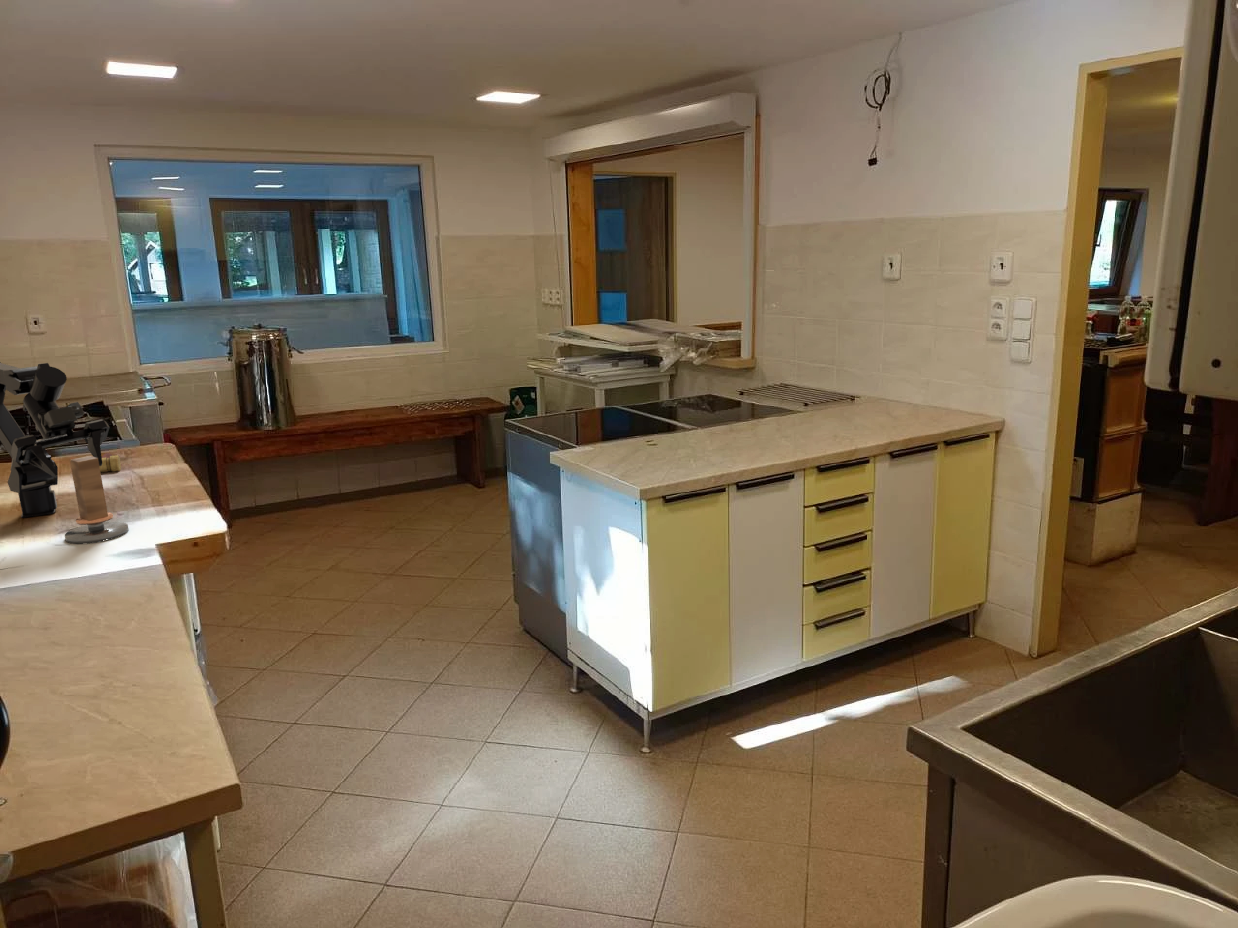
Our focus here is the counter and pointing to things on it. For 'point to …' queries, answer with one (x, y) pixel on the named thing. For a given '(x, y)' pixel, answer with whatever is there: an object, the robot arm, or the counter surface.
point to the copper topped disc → (96, 530)
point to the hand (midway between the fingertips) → (79, 470)
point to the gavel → (110, 463)
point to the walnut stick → (89, 488)
